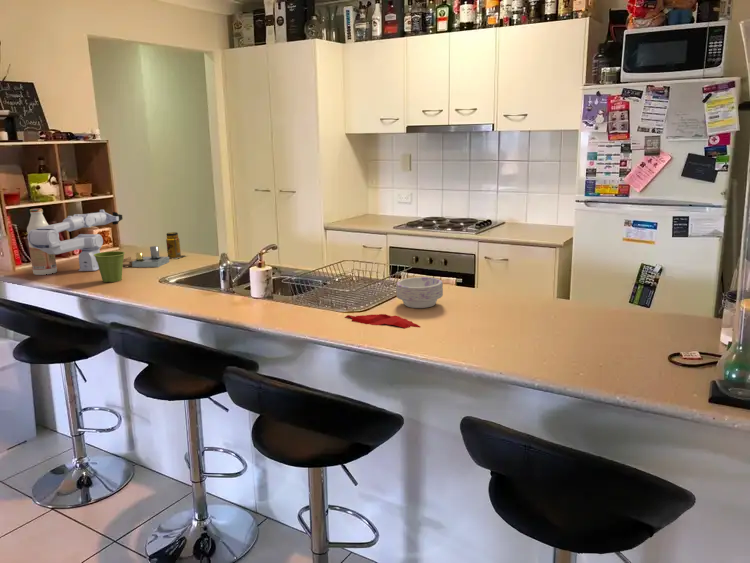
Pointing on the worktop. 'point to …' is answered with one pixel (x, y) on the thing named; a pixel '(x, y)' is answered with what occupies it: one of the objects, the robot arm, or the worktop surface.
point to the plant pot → (110, 265)
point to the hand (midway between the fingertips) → (114, 216)
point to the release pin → (139, 256)
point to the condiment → (173, 245)
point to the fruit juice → (39, 258)
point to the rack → (128, 262)
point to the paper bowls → (419, 291)
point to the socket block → (150, 262)
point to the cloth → (383, 320)
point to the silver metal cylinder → (154, 252)
